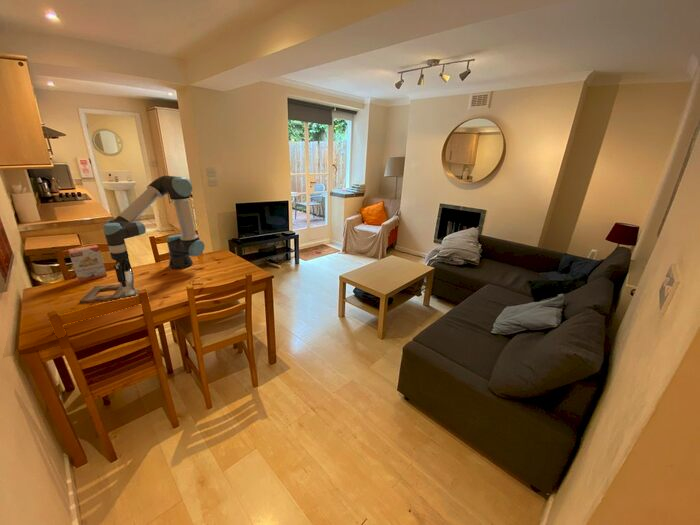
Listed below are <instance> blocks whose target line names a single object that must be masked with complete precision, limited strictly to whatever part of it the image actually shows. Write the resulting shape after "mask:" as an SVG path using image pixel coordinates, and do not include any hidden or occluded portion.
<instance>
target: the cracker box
mask: <svg viewBox="0 0 700 525" xmlns="http://www.w3.org/2000/svg"><path fill="white" fill-rule="evenodd" d="M67 252H68V255H69V258H70V261H71V263H72V266H73V269H74V272H75V274H76V275H75V276H76V278H77V280H78V282H79V283H82V282H87V281H91V279H92V280H96V279H101V278H104V277H105V278H106V277H108V275H107V271H106V268H105V265H104V261H103V257H102V253H101V250H100V248H99V246H98V245H97V244H94V245H89V246H88V245H87V246H82V247H76V248H70V249H67Z"/></svg>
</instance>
